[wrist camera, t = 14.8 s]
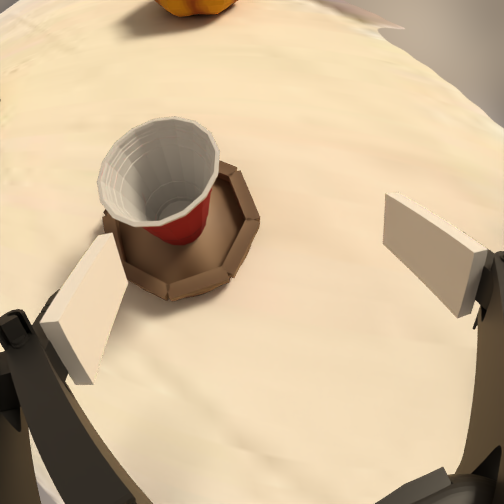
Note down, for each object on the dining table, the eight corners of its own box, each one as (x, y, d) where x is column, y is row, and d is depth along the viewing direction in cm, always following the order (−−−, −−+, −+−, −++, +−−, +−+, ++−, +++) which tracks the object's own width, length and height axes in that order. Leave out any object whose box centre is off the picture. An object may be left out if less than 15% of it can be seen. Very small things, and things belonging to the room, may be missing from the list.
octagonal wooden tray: (227, 149, 40) (226, 132, 37) (275, 268, 36) (279, 258, 32) (104, 191, 38) (94, 177, 35) (131, 317, 33) (119, 313, 30)
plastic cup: (132, 191, 37) (97, 129, 25) (218, 174, 38) (211, 104, 26) (137, 276, 33) (91, 236, 22) (234, 259, 34) (230, 210, 23)
